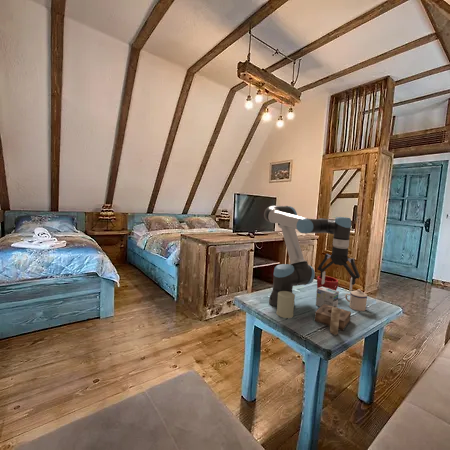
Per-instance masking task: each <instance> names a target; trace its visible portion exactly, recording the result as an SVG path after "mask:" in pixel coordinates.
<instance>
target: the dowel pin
mask: <svg viewBox="0 0 450 450" xmlns="http://www.w3.org/2000/svg"><path fill="white" fill-rule="evenodd" d="M340 309H341V308H340ZM340 309H339V307H338V308H337V307H332V312H331V323H330V326H329V333H330V334H331V335H339V329H338V327H339V316H340Z"/></svg>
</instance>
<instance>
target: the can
mask: <svg viewBox="0 0 450 450" xmlns="http://www.w3.org/2000/svg"><path fill="white" fill-rule="evenodd" d="M295 297H296V295H295V293H293V292H292V293H291V292H288V291H280V292H278V301H277V307H276V312H275V313H276V315H277V316H278V317H280V318H283V319H291V318H293V317H294V309H295V308H294V307H295V303H294V301H295Z"/></svg>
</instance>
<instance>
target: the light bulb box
mask: <svg viewBox="0 0 450 450" xmlns="http://www.w3.org/2000/svg"><path fill="white" fill-rule="evenodd" d="M339 294H340V292H339V291H338V290H332V289H329V288H325V287H320V288H316V296H315V297H316V298H315V306H318V307H319V308H320V307H321V306H322V305H323V304H326V305H329V306H333V307H337V308H339V307H338V304H339Z"/></svg>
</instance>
